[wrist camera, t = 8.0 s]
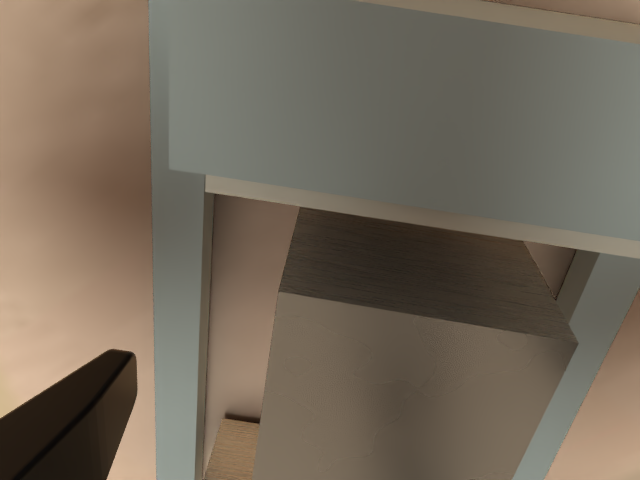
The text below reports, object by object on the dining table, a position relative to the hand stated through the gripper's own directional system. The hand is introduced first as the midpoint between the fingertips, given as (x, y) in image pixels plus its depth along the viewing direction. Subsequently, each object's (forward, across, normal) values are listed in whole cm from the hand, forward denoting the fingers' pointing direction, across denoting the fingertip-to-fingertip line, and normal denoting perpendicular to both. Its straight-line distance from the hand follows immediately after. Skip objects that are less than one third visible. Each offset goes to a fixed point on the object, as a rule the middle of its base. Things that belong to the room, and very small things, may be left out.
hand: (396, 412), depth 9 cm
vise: (+5, 0, +2) cm, 6 cm away
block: (+5, 0, 0) cm, 5 cm away
